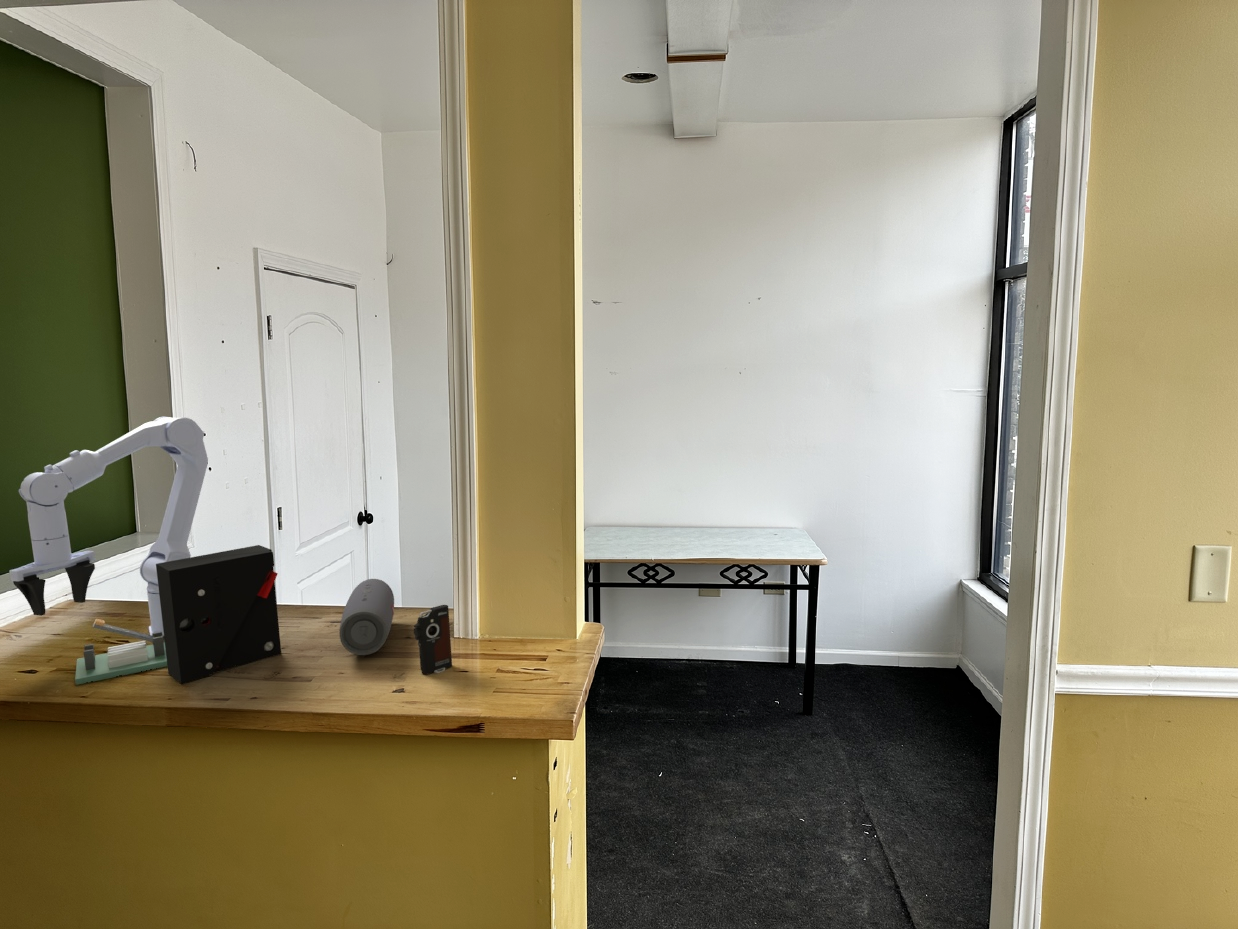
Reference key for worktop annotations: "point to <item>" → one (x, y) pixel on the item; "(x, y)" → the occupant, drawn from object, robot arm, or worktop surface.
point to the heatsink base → (121, 660)
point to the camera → (434, 640)
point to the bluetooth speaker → (367, 617)
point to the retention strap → (121, 630)
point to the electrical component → (218, 611)
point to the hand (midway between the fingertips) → (60, 608)
